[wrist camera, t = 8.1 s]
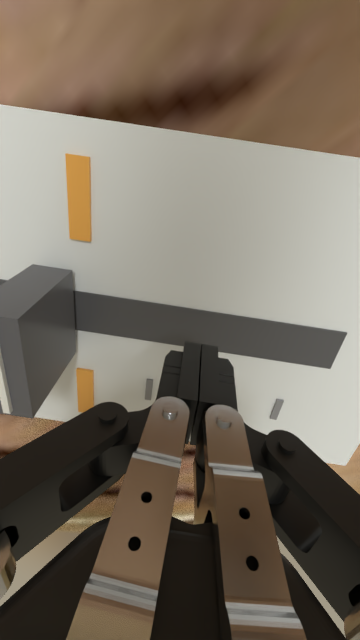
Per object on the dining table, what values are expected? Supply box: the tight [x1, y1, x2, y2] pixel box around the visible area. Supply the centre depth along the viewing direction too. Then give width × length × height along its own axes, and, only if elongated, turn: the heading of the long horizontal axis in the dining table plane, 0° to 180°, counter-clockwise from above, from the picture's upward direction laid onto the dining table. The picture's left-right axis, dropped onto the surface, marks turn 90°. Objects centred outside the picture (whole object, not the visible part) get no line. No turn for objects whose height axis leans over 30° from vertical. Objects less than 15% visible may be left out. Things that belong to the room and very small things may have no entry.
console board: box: [0, 104, 360, 466], centre depth 17 cm, size 18×28×4 cm, turn 83°
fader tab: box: [0, 264, 76, 418], centre depth 14 cm, size 5×2×5 cm, turn 173°
